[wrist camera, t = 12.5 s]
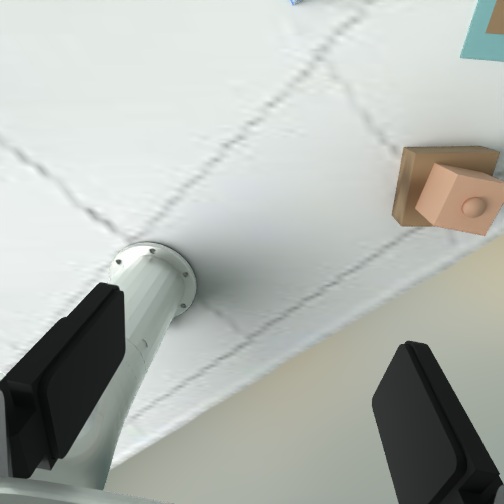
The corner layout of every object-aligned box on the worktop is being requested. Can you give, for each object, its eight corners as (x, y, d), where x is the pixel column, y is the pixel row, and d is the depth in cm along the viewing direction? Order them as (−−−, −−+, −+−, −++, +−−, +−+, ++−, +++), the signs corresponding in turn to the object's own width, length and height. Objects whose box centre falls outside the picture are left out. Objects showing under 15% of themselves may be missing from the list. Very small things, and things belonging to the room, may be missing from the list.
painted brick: (459, 217, 35) (488, 238, 30) (414, 208, 35) (436, 228, 30) (482, 172, 33) (517, 187, 28) (434, 162, 33) (461, 176, 28)
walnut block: (459, 213, 39) (476, 226, 35) (391, 214, 40) (401, 226, 36) (478, 145, 35) (499, 151, 32) (402, 146, 36) (415, 153, 33)
